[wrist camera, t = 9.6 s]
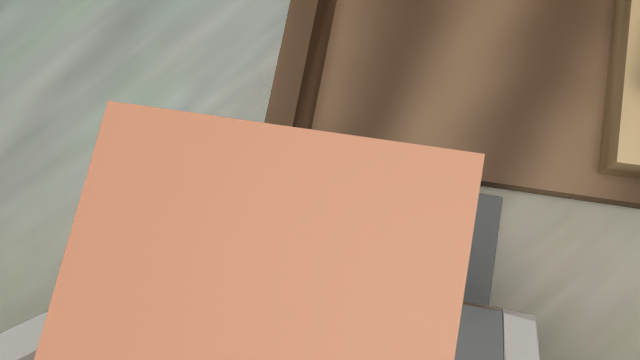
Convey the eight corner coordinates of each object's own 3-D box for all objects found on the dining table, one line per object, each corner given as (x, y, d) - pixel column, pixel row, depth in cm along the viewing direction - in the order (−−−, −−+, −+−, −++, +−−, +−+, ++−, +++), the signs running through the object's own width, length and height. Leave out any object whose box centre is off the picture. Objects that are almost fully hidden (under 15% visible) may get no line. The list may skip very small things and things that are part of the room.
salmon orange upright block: (289, 376, 16) (-37, 604, 5) (320, 225, 17) (108, 100, 5) (412, 408, 15) (390, 791, 4) (438, 247, 16) (484, 153, 5)
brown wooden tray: (286, 157, 24) (262, 133, 20) (335, -80, 26) (321, -142, 22) (793, 230, 20) (886, 218, 16) (802, -63, 22) (886, -138, 18)
